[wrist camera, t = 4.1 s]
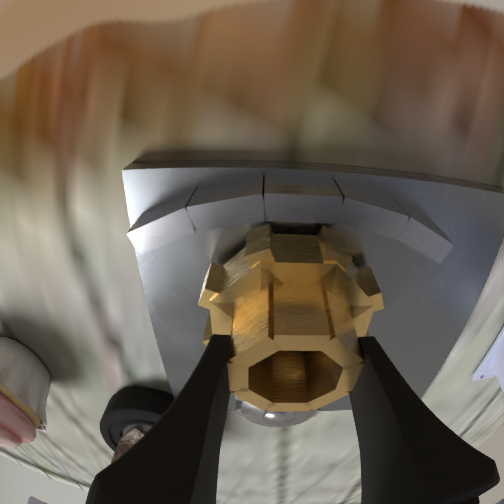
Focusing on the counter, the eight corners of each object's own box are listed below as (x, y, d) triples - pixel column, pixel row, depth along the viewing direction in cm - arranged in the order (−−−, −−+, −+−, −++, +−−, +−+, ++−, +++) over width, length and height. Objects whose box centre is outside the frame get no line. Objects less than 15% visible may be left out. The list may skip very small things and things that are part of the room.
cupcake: (50, 400, 25) (18, 478, 17) (-19, 344, 22) (-63, 418, 14) (82, 378, 22) (41, 482, 13) (-6, 305, 18) (-70, 400, 10)
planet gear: (385, 227, 12) (428, 299, 8) (351, 350, 16) (365, 422, 12) (200, 220, 12) (172, 295, 9) (212, 348, 16) (200, 422, 13)
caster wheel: (157, 353, 23) (238, 424, 26) (81, 402, 25) (155, 460, 27) (136, 414, 17) (238, 484, 19) (56, 452, 18) (144, 509, 21)
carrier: (505, 188, 12) (547, 220, 9) (414, 392, 21) (425, 430, 18) (130, 163, 13) (92, 194, 10) (178, 393, 21) (169, 435, 18)
